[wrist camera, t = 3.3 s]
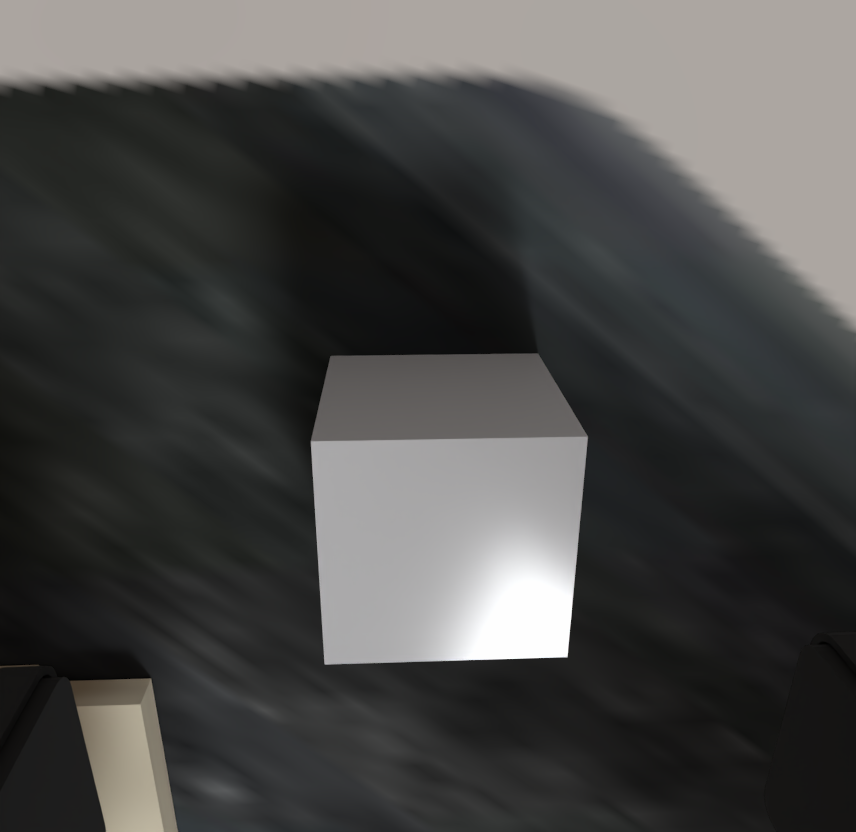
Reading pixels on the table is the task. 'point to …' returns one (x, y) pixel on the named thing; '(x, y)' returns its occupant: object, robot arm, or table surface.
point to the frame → (125, 753)
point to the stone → (445, 508)
